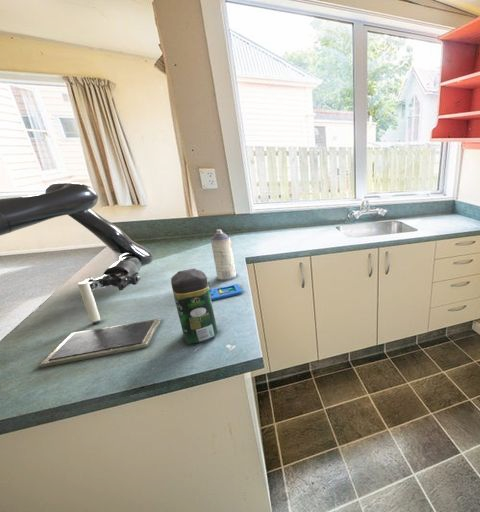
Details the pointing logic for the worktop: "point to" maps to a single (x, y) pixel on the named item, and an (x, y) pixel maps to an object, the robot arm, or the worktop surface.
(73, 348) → the chalkboard
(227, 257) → the aerosol can
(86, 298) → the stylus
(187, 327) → the coffee jar
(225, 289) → the handheld gaming device
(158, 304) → the worktop surface
